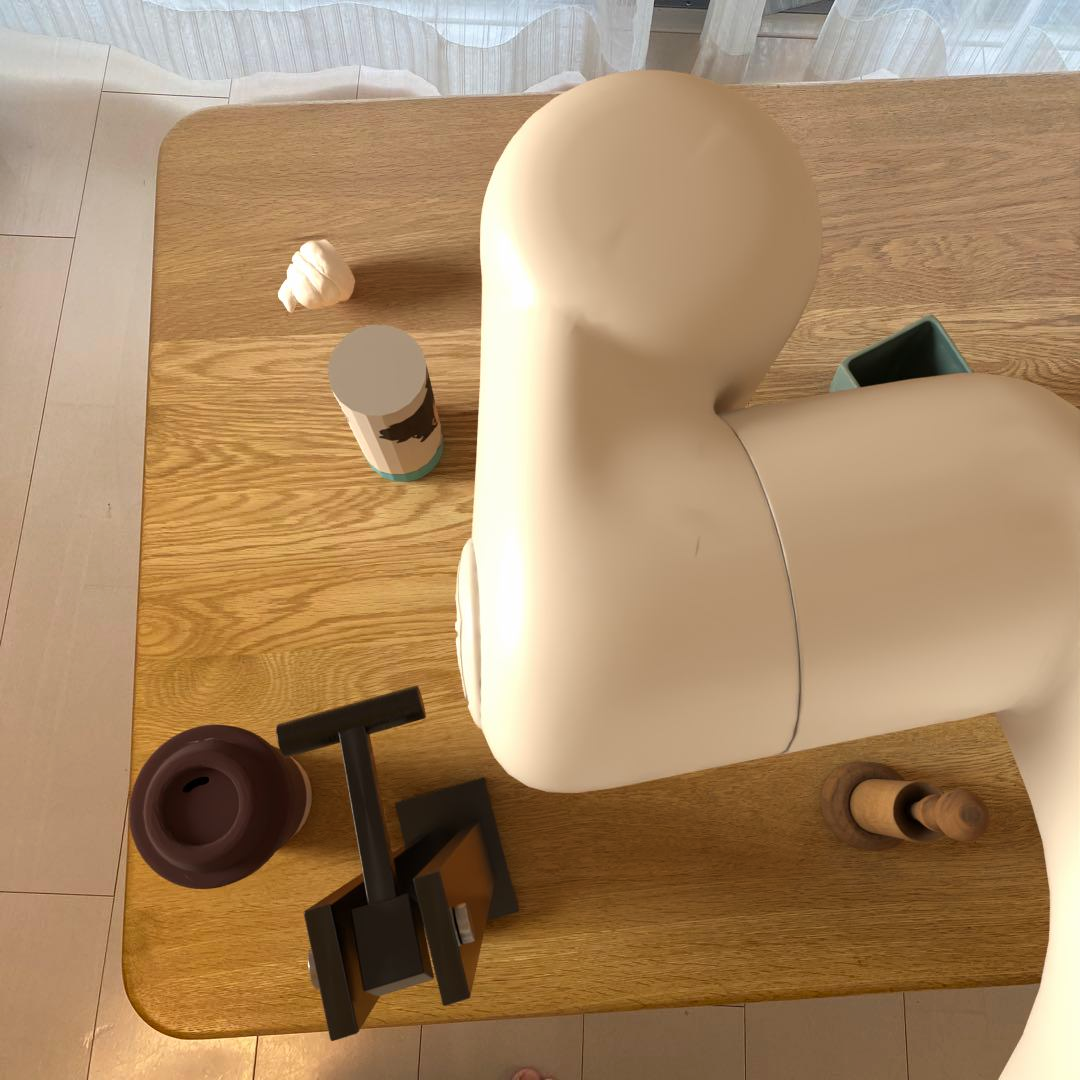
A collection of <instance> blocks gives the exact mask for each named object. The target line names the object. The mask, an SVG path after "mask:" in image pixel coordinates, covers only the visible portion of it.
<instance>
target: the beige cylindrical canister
mask: <svg viewBox="0 0 1080 1080" xmlns="http://www.w3.org/2000/svg"><path fill="white" fill-rule="evenodd" d="M332 350H333V351H332V353H331V355H330V357H329V359H328V367H327V377H328V382H329V385H330V390H331V391H332V393H333V396H334V397H335V399H336V402H337V404H338V405H339V407H340V409H341V411H342V413H343V416H344V418H345V419H346V422H347V424H348V425H349V427H350V429H351V432H352V433H353V435H354V438H355V439H356V441H357V444H358V445H359V447H360V450H361V451H362V453H363V457H364V458H365V460H366V462H367V463H368V464H369V466H370V467H371V469H372V470H373V472H375V473H376V474H378V475H379V476H380V477H382V478H384V479H386V480H389V481H392V482H395V483H396V482H397V483H399V482H400V483H408V482H413V481H416V480H421V479H422V478H423V477H425V476H427V475H428V474H430V473H431V472H432V471H434V469H435V468H436V466H437V465H438V464H439V462H440V460H441V457H442V455H443V453H444V445H445V437H444V434H443V430H442V425H441V421H440V417H439V413H438V408H437V403H436V399H435V395H434V391H433V386H432V382H431V378H430V374H429V369H428V364H427V360H426V358H425V354H424V351H423V349H422V347H421V346H420V345H419V343H418V341H417V340H416V339H415V338H414V337H413V336H412V335H410V334H408V333H407V332H406V331H405V330H403V329H401V328H399V327H395V326H392V325H390V324H370V325H366V326H362V327H358V328H356V329H354V330H353V331H351V332H350V333H348V334H346V335H345V336H343V338H342V339H341V340H340V341H339V342H338V343H337V344H336V345H335V347H334V349H332Z"/></svg>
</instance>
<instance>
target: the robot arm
mask: <svg viewBox="0 0 1080 1080" xmlns="http://www.w3.org/2000/svg"><path fill="white" fill-rule="evenodd" d="M820 206H821V205H820V201H819V193H818V191H817V187H816V185H815V182H814V178H813V176H812V173H811V171H810V168H809V166H808V164H807V162H806V161H805V159H804V157H803V156H802V154H801V152H800V151H799V149H798V147H797V145H796V144H795V143H794V141H793V140H792V139H791V138H790V136H789V135H788V134H787V133H786V132H785V130H784V129H783V128H782V127H781V126H780V125H779V124H778V122H777V121H776V120H775V119H774V118H773V117H772V116H771V115H769V114H768V113H767V112H766V111H765V110H763V108H762V107H760V106H759V105H758V104H757V103H756V102H754V101H752V100H751V99H750V98H748V97H746V96H745V95H743V94H742V93H740V92H738V91H736V90H734V89H732V88H730V87H728V86H726V85H723V84H722V83H719V82H718V81H714V80H712V79H709V78H708V79H707V78H705V77H701V76H699V75H695V74H692V73H686V72H680V71H673V70H666V69H633V70H628V71H621V72H614V73H610V74H606V75H603V76H600V77H596V78H593V79H591V80H587V81H584V82H582V83H580V84H578V85H576V86H573V88H570V89H568V90H567V91H565V92H562V93H560V94H559V95H557V96H555V97H554V98H552V99H551V100H550V101H548V102H547V103H546V104H544V105H543V106H541V107H540V108H539V109H538V110H536V111H535V112H534V113H533V114H532V115H530V116H529V117H528V119H526V121H525V122H524V124H522V125H521V127H520V128H519V129H518V130H517V131H516V133H515V134H514V135H513V136H512V137H511V139H510V140H509V142H508V143H507V145H506V147H505V148H504V150H503V152H502V154H501V156H500V157H499V158H498V161H497V162H496V164H495V166H494V168H493V171H492V174H491V176H490V179H489V183H488V184H487V188H486V191H485V194H484V198H483V203H482V207H481V215H480V228H479V229H480V230H479V239H480V240H479V241H480V242H479V259H480V270H481V316H480V317H481V321H480V322H481V323H480V324H481V325H480V369H479V371H480V372H479V380H480V381H479V394H478V395H479V398H478V416H477V440H476V459H475V460H476V461H475V474H474V475H475V476H474V493H473V507H472V508H473V509H472V510H473V511H472V526H471V537H470V538H468V539H467V541H466V542H465V544H464V546H463V548H462V551H461V553H460V558H459V562H458V566H457V574H456V584H455V585H456V588H455V598H454V601H455V604H456V605H455V606H456V622H454V630H455V634H456V635H457V637H456V638H455V645H456V656H457V665H458V671H459V673H460V678H461V684H462V691H463V696H464V699H465V701H466V702H468V704H467V709H468V712H469V713H470V716H471V718H472V720H473V722H474V723H475V725H476V726H477V727H478V728H479V730H481V731H482V733H483V736H484V738H485V739H486V743H487V745H488V747H489V750H490V752H491V753H492V756H493V757H494V759H495V760H496V761H497V762H498V764H499V765H500V766H501V767H502V769H503V770H504V771H505V772H506V774H507V775H509V776H510V777H512V778H514V779H515V780H517V781H519V783H522V784H523V785H524V786H526V787H529V788H532V789H536V790H539V791H543V792H545V793H546V792H547V793H564V794H565V793H566V794H579V793H586V792H593V791H601V790H608V789H614V788H615V789H616V788H621V787H626V786H632V785H636V784H641V783H645V782H650V781H655V780H660V779H665V778H671V777H676V776H680V775H685V774H690V773H694V772H700V771H705V770H709V769H710V770H711V769H714V768H719V767H724V766H729V765H730V766H731V765H735V764H740V763H743V762H749V761H754V760H759V759H764V758H769V757H774V756H775V757H778V756H783V755H789V754H793V753H798V752H803V751H806V750H811V749H816V748H822V747H826V746H831V745H835V744H841V743H846V742H851V741H856V740H861V739H866V738H870V737H871V738H872V737H875V736H876V737H877V736H882V735H887V734H891V733H896V732H902V731H907V730H911V729H917V728H922V727H927V726H933V725H937V724H943V723H944V724H945V723H950V722H956V721H962V720H963V721H964V720H967V719H971V718H975V717H980V716H984V715H989V714H993V713H994V716H995V718H996V720H997V723H998V725H999V728H1000V729H1001V732H1002V734H1003V736H1004V739H1005V740H1006V742H1007V745H1008V747H1009V749H1010V752H1011V754H1012V757H1013V760H1014V762H1015V764H1016V766H1017V769H1018V771H1019V774H1020V776H1021V779H1022V781H1023V785H1024V787H1025V790H1026V792H1027V795H1028V797H1029V800H1030V803H1031V806H1032V807H1031V808H1032V811H1033V813H1034V817H1035V821H1036V824H1037V829H1038V831H1039V834H1040V838H1041V843H1042V846H1043V854H1044V861H1045V867H1046V874H1047V875H1046V876H1047V882H1048V883H1047V884H1048V889H1049V929H1048V930H1049V932H1048V943H1047V949H1046V954H1045V958H1044V964H1043V969H1042V975H1041V979H1040V986H1039V989H1038V991H1037V995H1036V997H1035V999H1034V1002H1033V1005H1032V1008H1031V1011H1030V1013H1029V1016H1028V1019H1027V1022H1026V1025H1025V1027H1024V1030H1023V1033H1022V1035H1021V1037H1020V1038H1019V1041H1018V1042H1017V1045H1016V1046H1015V1048H1014V1050H1013V1051H1012V1053H1011V1056H1010V1057H1009V1059H1008V1061H1007V1063H1006V1064H1005V1066H1004V1068H1003V1070H1002V1072H1001V1073H1000V1075H999V1077H998V1079H997V1080H1080V408H1078V407H1076V406H1075V405H1073V404H1072V403H1070V402H1069V401H1068V400H1066V399H1064V398H1062V397H1061V396H1059V395H1058V394H1056V393H1054V392H1053V390H1050V389H1047V388H1045V387H1043V386H1041V385H1039V384H1037V383H1034V382H1032V381H1028V380H1024V379H1021V378H1017V377H1015V376H1009V375H1008V376H1007V375H1001V374H993V373H984V372H974V373H956V374H948V375H940V376H932V377H924V378H916V379H909V380H903V381H897V382H891V383H885V384H879V385H872V386H866V387H860V388H854V389H849V390H843V391H837V392H832V393H829V392H827V393H821V394H815V395H810V396H803V397H798V398H793V399H792V398H791V399H786V400H781V401H776V402H770V403H765V404H758V405H753V406H748V404H749V403H750V401H751V400H752V398H753V396H754V395H755V393H756V392H757V390H758V389H759V387H760V385H761V384H762V382H763V381H764V379H765V377H766V376H767V374H768V373H769V371H770V370H771V368H772V366H773V364H774V363H775V362H776V360H777V359H778V357H779V355H780V354H781V352H782V350H783V348H784V347H785V345H787V343H788V341H789V339H790V338H791V336H792V335H793V333H794V332H795V329H796V328H797V326H798V324H799V323H800V320H801V318H802V317H803V314H804V312H805V310H806V308H807V306H808V303H809V301H810V299H811V297H812V294H813V292H814V290H815V287H816V283H817V280H818V277H819V271H820V268H821V267H820V266H821V261H822V255H823V231H824V230H823V229H824V226H823V218H822V213H821V207H820Z"/></svg>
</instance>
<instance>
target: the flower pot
mask: <svg viewBox="0 0 1080 1080" xmlns="http://www.w3.org/2000/svg"><path fill="white" fill-rule="evenodd" d="M956 373H975V372H974V370H973V369H972V368H971V366H970V364H969V363H968V362H967V360H966V359H965V357H964V356H963V354H962V353H961V351H960V350H959V348H958V347H957V345H956V344H955V342H954V341H953V339H952V338H951V336H950V335H949V333H948V331H946V329H945V327H944V326H943V324H942V323H941V322H940V320H939V319H938V318H937V317H936V316H935V315H934V314H932V313H931V314H929V313H928V314H927V315H924V316H923V317H921V318H919V319H917V320H915V321H914V322H912V323H910V324H908V325H906V326H904V327H902V328H901V329H898V330H897V331H895V332H893V333H891V334H889V335H887V336H885V337H883V338H882V339H880V340H877V341H876V342H873V343H872V344H870V345H868V346H866V347H864V348H862V349H860V350H858V351H856V352H854V353H852V354H849V355H847V356H846V357H844V358H842V360H841V361H840V362H839V365H838V367H837V370H836V371H835V374H834V376H833V379H832V380H831V384H830V387H829V390H828V391H829V392H828V393H832V392H837V391H843V390H849V389H854V388H860V387H866V386H872V385H879V384H885V383H891V382H897V381H903V380H909V379H916V378H924V377H932V376H940V375H948V374H956Z"/></svg>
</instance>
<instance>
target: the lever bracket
mask: <svg viewBox="0 0 1080 1080" xmlns="http://www.w3.org/2000/svg"><path fill="white" fill-rule="evenodd" d="M394 807H395V811H396V815H397V819H398V820H397V821H398V825H399V828H400V832H401V836H402V841H403V845H402V846H400V847H399V848H398V849H396V850H394V851H392V854H393V859H394V864H395V870H396V875H397V880H398V885H399V891H400V896H401V895H404V894H409V895H410V896H411V897H412V898H413V899H414V900H415V901H416V902H417V903H418V904H419V907H420V912H421V916H422V920H423V925H424V930H425V935H426V940H427V945H428V950H429V955H430V959H431V963H432V967H433V970H434V974H435V975H434V976H435V978H436V979H435V980H436V982H437V987H438V991H439V995H440V1000H441V1004H442V1006H443V1007H447V1006H450V1005H453V1004H456V1003H460V1002H463V1001H466V1000H469V999H471V997H472V991H473V986H474V982H475V977H476V972H477V968H478V963H479V959H480V953H481V950H482V943H483V939H484V935H485V931H486V926H487V922H491V921H495V920H497V919H500V918H504V917H508V916H511V915H514V914H518V913H519V912H520V906H519V902H518V898H517V895H516V891H515V887H514V883H513V879H512V875H511V872H510V868H509V864H508V860H507V856H506V853H505V848H504V845H503V841H502V836H501V834H500V830H499V825H498V822H497V819H496V814H495V810H494V807H493V803H492V799H491V795H490V792H489V788H488V784H487V779H486V777H485V776H482V777H479V778H476V779H473V780H472V779H471V780H469V781H465V782H461V783H458V784H455V785H451V786H448V787H446V788H441V789H438V790H435V791H434V790H433V791H431V792H428V793H423V794H421V795H417V796H414V797H411V798H407V799H404V800H400V801H397V802H394ZM367 905H368V901H367V895H366V889H365V883H364V877H363V872H361V873H360V874H358V875H356V876H355V877H354V878H352V879H351V880H349V881H348V882H346V883H344V884H343V885H341V886H340V887H339V888H337V889H335V890H333V892H331V893H330V894H328V895H326V896H325V897H324V898H322V899H320V900H319V901H317V902H316V903H314V904H313V905H312V906H309V908H307V909H305V910H304V911H303V917H304V922H305V928H306V930H307V931H306V932H307V937H308V941H309V946H310V949H309V950H308V952H307V968H308V973H309V978H310V981H311V984H312V986H313V988H314V989H315V990H319V992H320V998H321V1003H322V1007H323V1011H324V1017H325V1023H326V1026H327V1031H328V1035H329V1040H330V1041H331V1042H335V1041H338V1040H342V1039H344V1038H347V1037H351V1036H353V1035H354V1036H355V1035H357V1034H358V1033H359V1032H360V1031H361V1029H362V1027H363V1025H364V1024H365V1022H366V1021H367V1019H368V1017H369V1016H370V1014H371V1012H372V1011H373V1009H374V1007H375V1006H376V1004H377V1003H378V1001H379V999H380V998H381V996H376V995H373V994H370V993H367V992H365V991H364V990H363V986H362V980H361V973H360V967H359V961H358V955H357V949H356V943H355V937H354V930H353V924H352V918H351V911H352V910H354V909H357V908H361V907H364V906H367Z"/></svg>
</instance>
